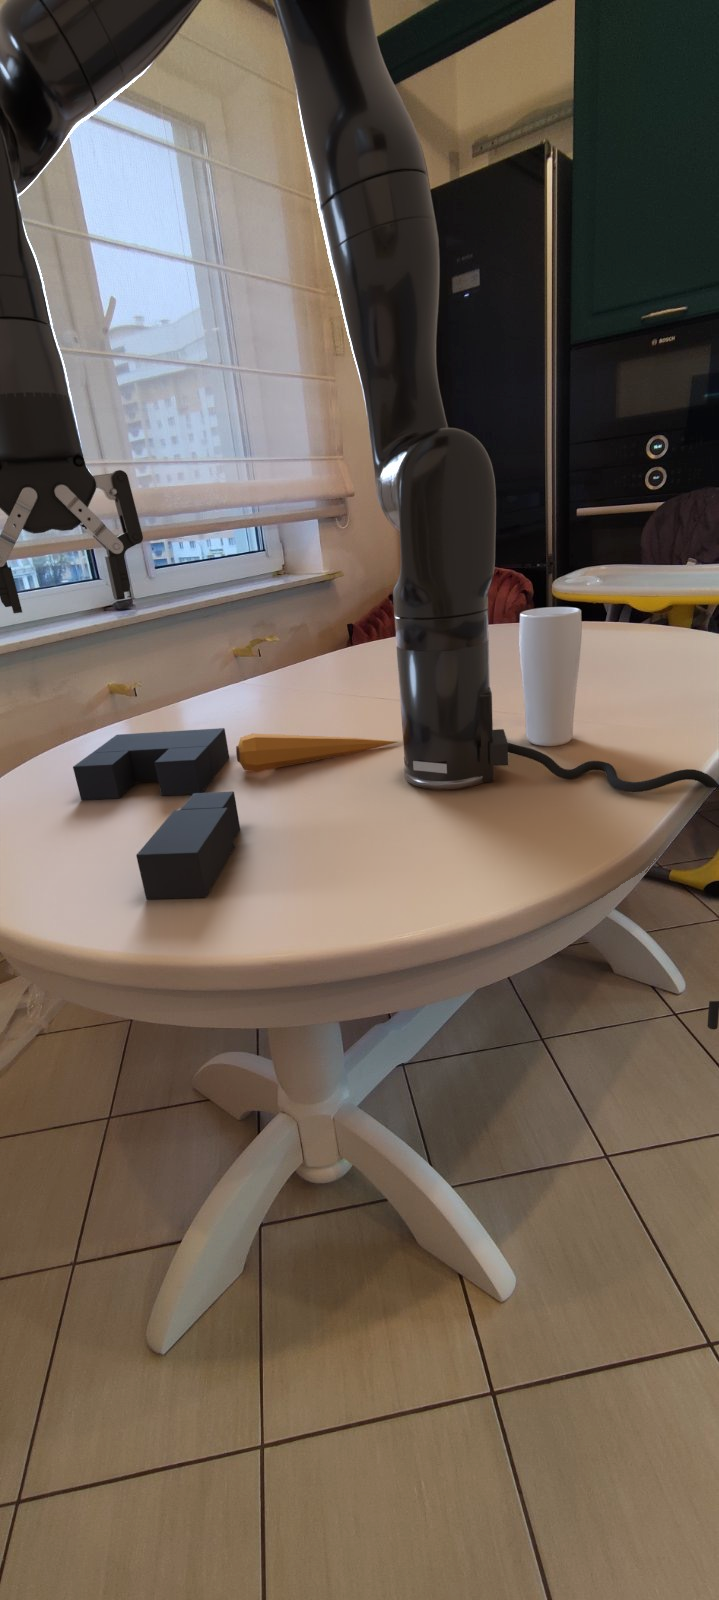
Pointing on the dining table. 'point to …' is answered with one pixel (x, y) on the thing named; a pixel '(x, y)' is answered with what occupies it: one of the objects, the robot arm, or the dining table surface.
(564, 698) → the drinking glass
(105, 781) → the dark grey u-shaped block
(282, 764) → the carrot
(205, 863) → the black rectangular block
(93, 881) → the dining table surface
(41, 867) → the dining table surface
